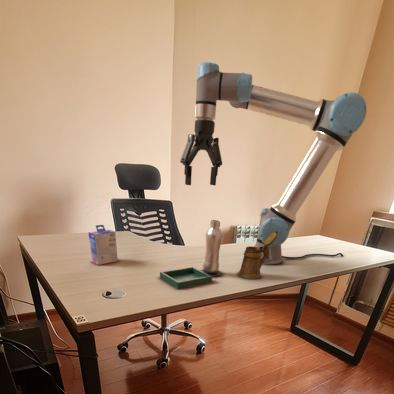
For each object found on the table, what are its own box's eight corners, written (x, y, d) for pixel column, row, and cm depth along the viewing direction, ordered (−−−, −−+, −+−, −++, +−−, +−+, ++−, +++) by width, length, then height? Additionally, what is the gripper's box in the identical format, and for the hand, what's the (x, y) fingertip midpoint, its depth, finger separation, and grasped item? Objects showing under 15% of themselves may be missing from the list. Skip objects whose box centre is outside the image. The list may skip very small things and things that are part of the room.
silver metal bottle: (201, 269, 128) (205, 218, 117) (217, 270, 128) (222, 219, 118) (203, 274, 122) (207, 222, 112) (219, 275, 123) (225, 223, 112)
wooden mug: (273, 279, 125) (283, 233, 115) (242, 279, 122) (249, 232, 113) (265, 272, 132) (273, 228, 122) (235, 271, 130) (242, 227, 120)
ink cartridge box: (111, 258, 134) (108, 223, 126) (118, 261, 131) (116, 225, 123) (91, 262, 128) (86, 225, 120) (98, 265, 125) (94, 228, 117)
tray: (192, 272, 125) (192, 266, 124) (211, 282, 117) (212, 276, 116) (159, 278, 117) (159, 272, 116) (177, 289, 109) (177, 282, 107)
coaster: (212, 268, 131) (212, 268, 131) (226, 275, 125) (226, 274, 125) (195, 271, 126) (195, 270, 126) (208, 278, 120) (209, 277, 120)
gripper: (221, 124, 122) (216, 184, 133) (172, 115, 107) (170, 183, 119) (235, 124, 117) (228, 186, 129) (185, 115, 103) (182, 185, 114)
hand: (200, 185), depth 124 cm, fingers open, 13 cm apart
